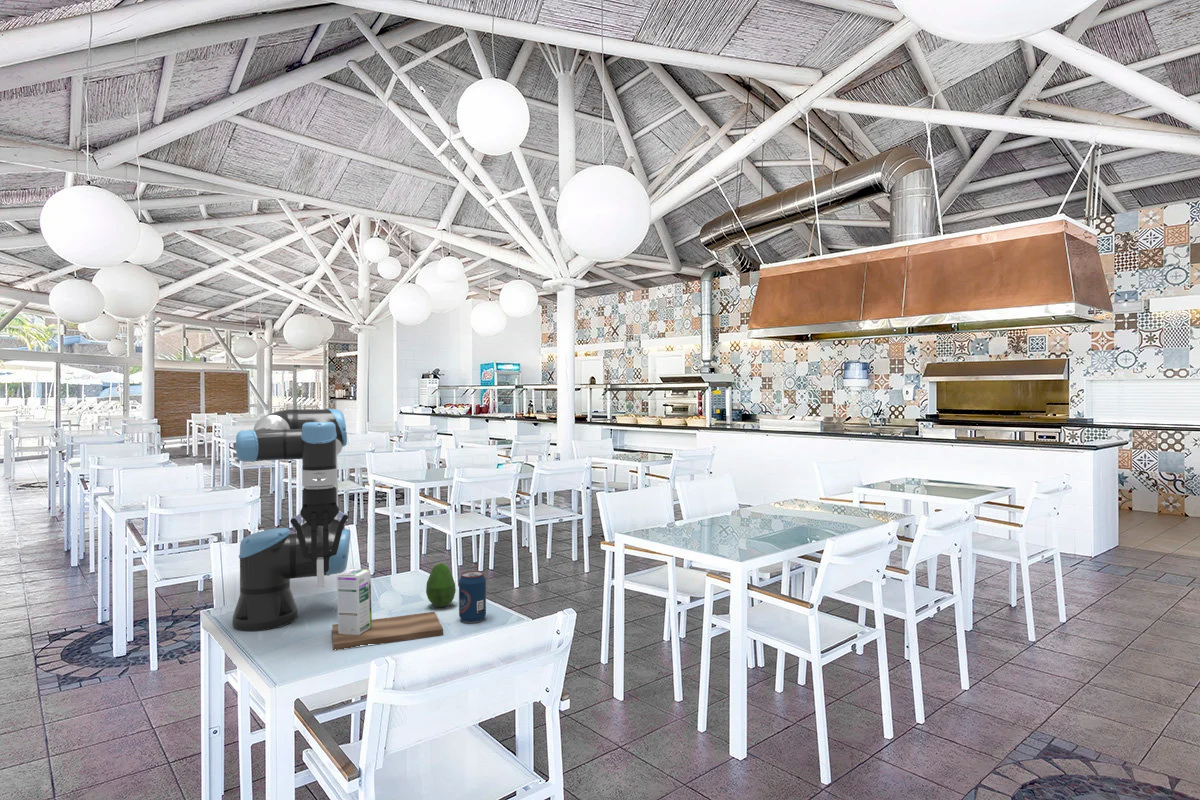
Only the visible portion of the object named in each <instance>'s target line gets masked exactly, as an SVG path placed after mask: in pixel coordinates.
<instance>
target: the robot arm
mask: <svg viewBox="0 0 1200 800" xmlns="http://www.w3.org/2000/svg"><path fill="white" fill-rule="evenodd" d="M346 424H347V423H346V420H345V416H344V413H343V411H342V410H339V409H337V408H336V409H334V408H333V409H332V408H328V407H327V408H325V409H320V408H319V409H317V408H316V409H315V408H313V409H308V408H306V409H283V410H279V411H274V412H271V413H268V414H266V415H264V416H262V417H261V418H259V419H258V420H257V421H256V423H255V424H254V427H253V429H249V430H239V431H238V432H237V433H236V437H235V454H236V457H237V460H238V461H240V462H260V461H261V462H262V461H282V460H284V461H285V460H288V461H289V460H290V461H291V460H301V461H302V462H301V463H302V467H301V468H302V470H301V479H302V480H301V481H302V485H301V486H302V487H304V488H303V489H302V490H301V491H302V492H301V493H302V494H301V495H302V496H301V497H302V500H301V501H302V504H301V505H302V507H301V509H300V511H299V513H298V514H297V515H295V516H293V517H291V518H290V521H289V522H290V524H291V525H292V526H293V527H294V529H295V533H291V531H290V529H289V528H288V527H280V528H279V527H277V528H270V529H265V530H260V531H258V532H254V533H252V534H249V535H247V536H245V537H243V538H242V540H241V541H240V543H239V555H238V558H239V595H238V600H237V602H236V607H235V609H234V611H233V614H232V628H233V629H236V630H239V631H244V632H247V631H249V632H252V631H253V632H254V631H255V632H256V631H265V630H271V629H275V628H279V627H284V626H286V625H288V624H291V623H293V622H295V620H297V619H298V607H297V603H296V601H295V598H294V595H293V593H292V591H291V579H301V578H311V577H316V588H324V587H325V576H326V577H327V576H331V575H339V574H342V573H344V572H346V571H347V570H346V569H347V567H348V562H349V560H348V559H349V554H350V543H351V530H350V529H347V528H346V527H345V524H346V523H347V521H348V519H349V515H348V513H347V512H346V513H345V512H342V511H340V508H339V486H338V485H339V484H338V483H339V479H338V477H339V476H338V455H339V454H340V453H341V452H342V450H343V447H346V446H347V443H348V434H347V433H348V432H347V425H346ZM303 520H304V522H303Z"/></svg>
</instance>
